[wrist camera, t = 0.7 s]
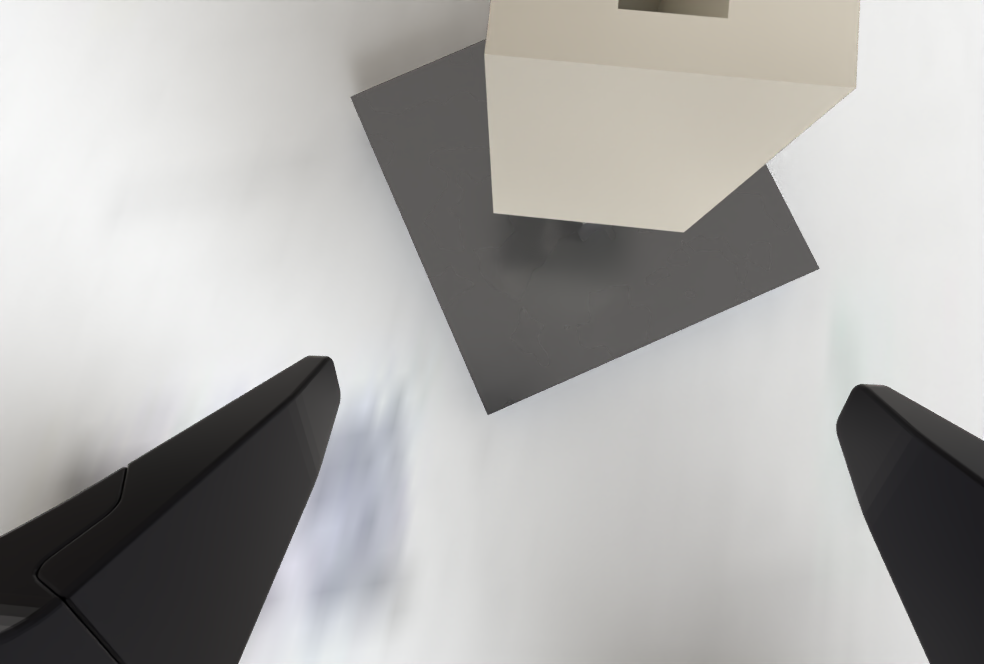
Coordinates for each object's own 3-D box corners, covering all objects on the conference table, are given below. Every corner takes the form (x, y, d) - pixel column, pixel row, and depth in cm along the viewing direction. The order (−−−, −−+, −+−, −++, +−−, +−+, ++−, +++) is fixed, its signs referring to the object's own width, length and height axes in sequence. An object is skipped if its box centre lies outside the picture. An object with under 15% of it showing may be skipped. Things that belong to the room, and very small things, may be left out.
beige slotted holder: (683, 232, 16) (857, 86, 8) (493, 213, 16) (484, 51, 8) (697, 52, 17) (873, -247, 9) (513, 36, 17) (522, -271, 9)
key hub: (791, 279, 22) (897, 240, 16) (489, 412, 22) (483, 422, 16) (649, -1, 23) (698, -131, 18) (363, 121, 23) (315, 30, 17)
